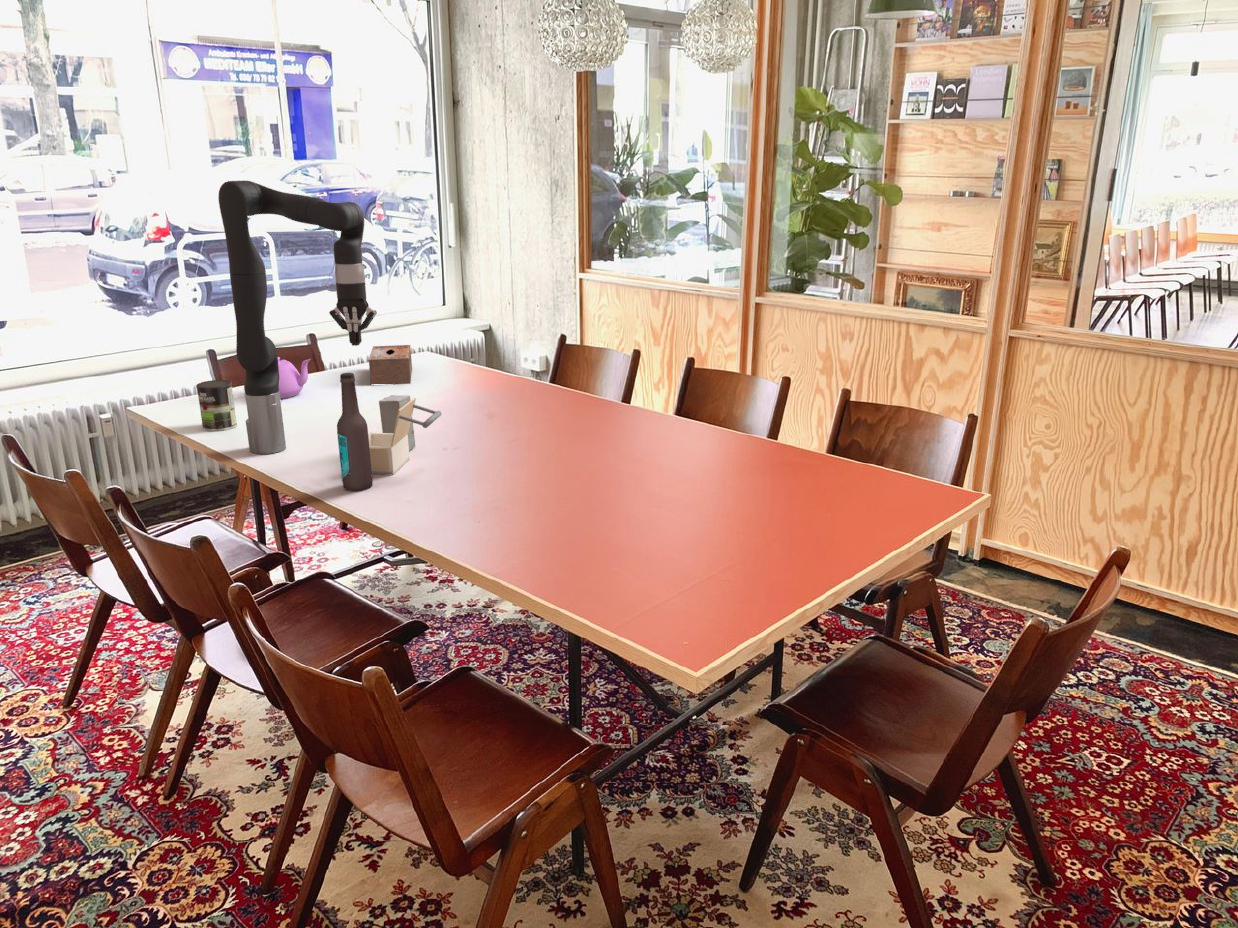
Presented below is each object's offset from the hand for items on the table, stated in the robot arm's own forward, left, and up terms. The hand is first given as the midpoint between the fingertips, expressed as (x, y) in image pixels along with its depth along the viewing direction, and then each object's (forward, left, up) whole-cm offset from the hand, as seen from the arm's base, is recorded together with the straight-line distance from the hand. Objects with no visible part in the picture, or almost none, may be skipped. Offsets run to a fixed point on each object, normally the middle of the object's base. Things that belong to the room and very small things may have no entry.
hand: (356, 345), depth 252 cm
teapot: (-57, +68, -33) cm, 95 cm away
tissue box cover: (-29, +100, -33) cm, 109 cm away
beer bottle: (+6, -21, -33) cm, 40 cm away
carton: (+7, -5, -33) cm, 34 cm away
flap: (+13, -5, -20) cm, 24 cm away
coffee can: (-59, +27, -33) cm, 73 cm away
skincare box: (+6, +10, -33) cm, 35 cm away
